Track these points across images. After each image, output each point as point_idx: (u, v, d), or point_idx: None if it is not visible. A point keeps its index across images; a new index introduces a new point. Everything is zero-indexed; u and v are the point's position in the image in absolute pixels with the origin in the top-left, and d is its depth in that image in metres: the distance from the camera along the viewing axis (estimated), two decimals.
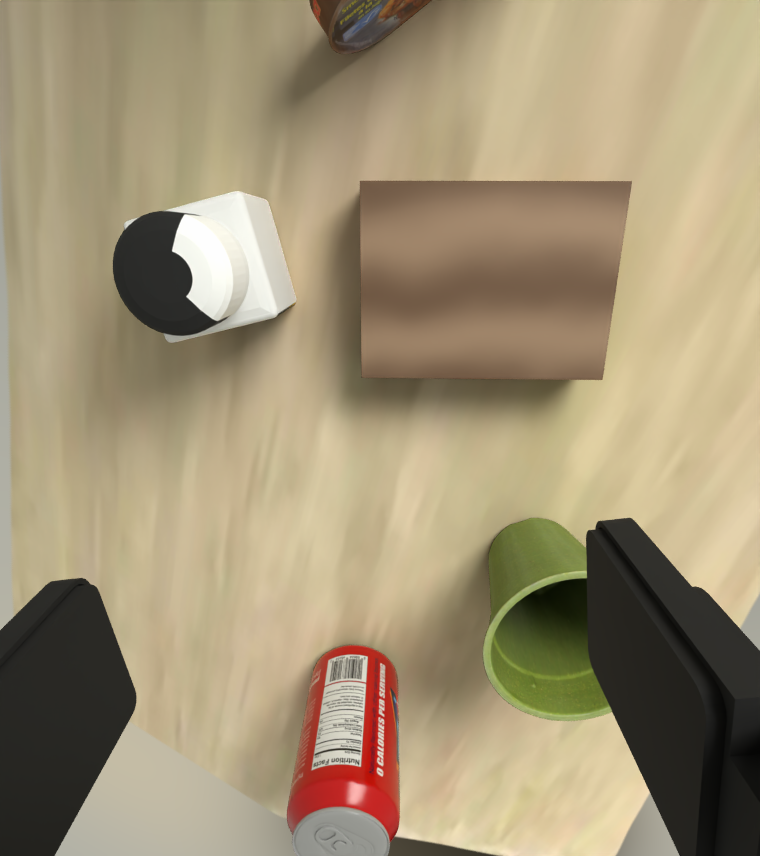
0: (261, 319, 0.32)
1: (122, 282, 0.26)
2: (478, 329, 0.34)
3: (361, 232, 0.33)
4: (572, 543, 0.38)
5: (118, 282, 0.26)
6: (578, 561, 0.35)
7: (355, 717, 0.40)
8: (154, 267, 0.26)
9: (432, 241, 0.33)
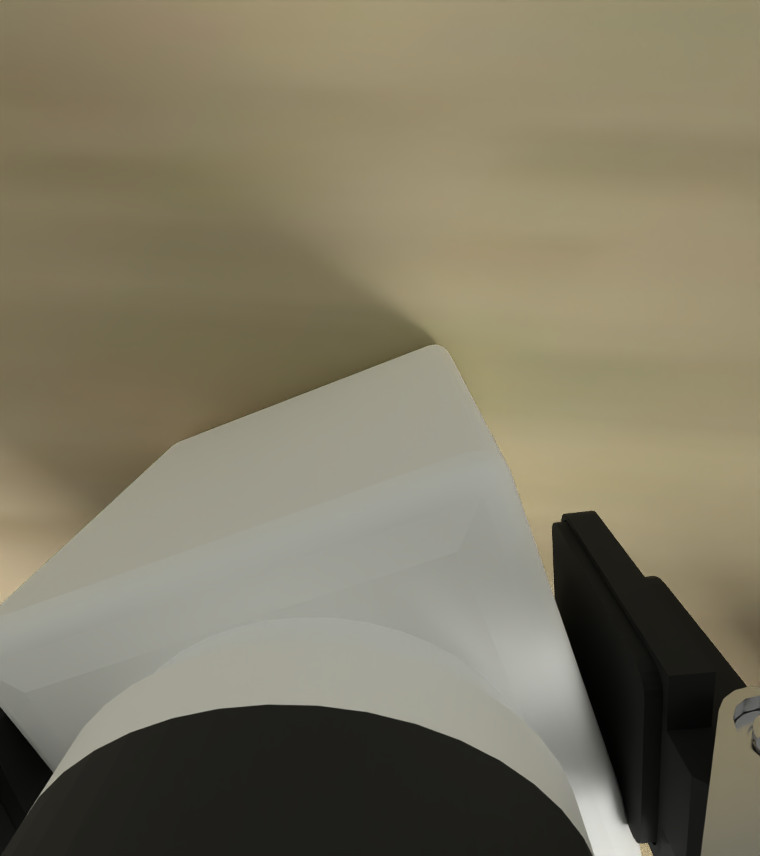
0: None
1: None
2: None
3: None
4: None
5: None
6: None
7: None
8: None
9: None
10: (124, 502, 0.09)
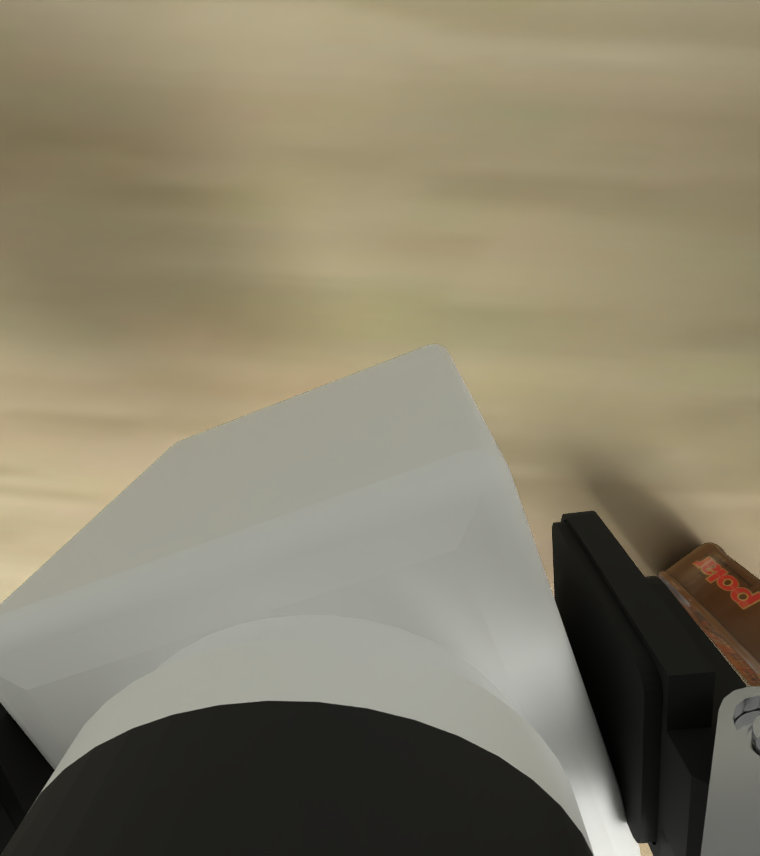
0: None
1: None
2: None
3: None
4: None
5: None
6: None
7: None
8: None
9: None
10: (125, 501, 0.09)
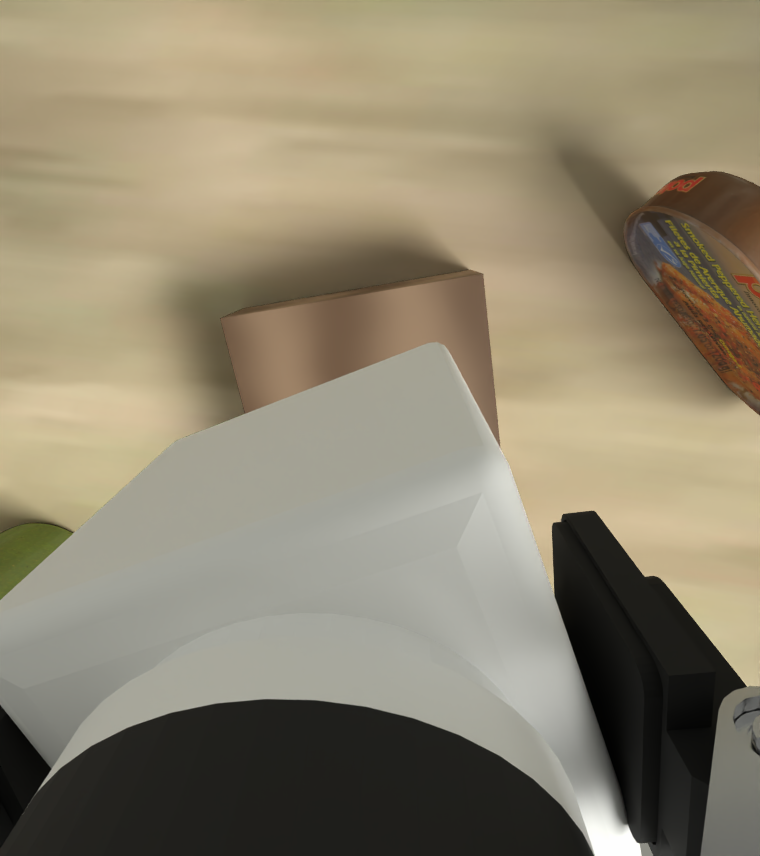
0: None
1: None
2: None
3: (418, 286, 0.24)
4: None
5: None
6: None
7: None
8: None
9: None
10: (123, 499, 0.09)
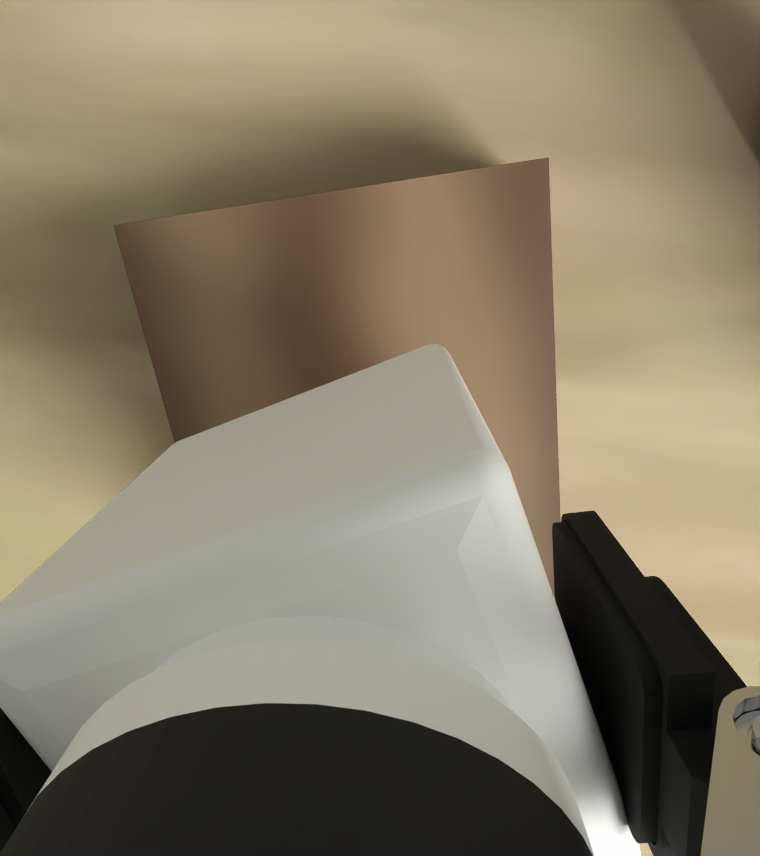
0: None
1: None
2: None
3: (439, 177, 0.14)
4: None
5: None
6: None
7: None
8: None
9: (437, 340, 0.16)
10: (123, 501, 0.09)
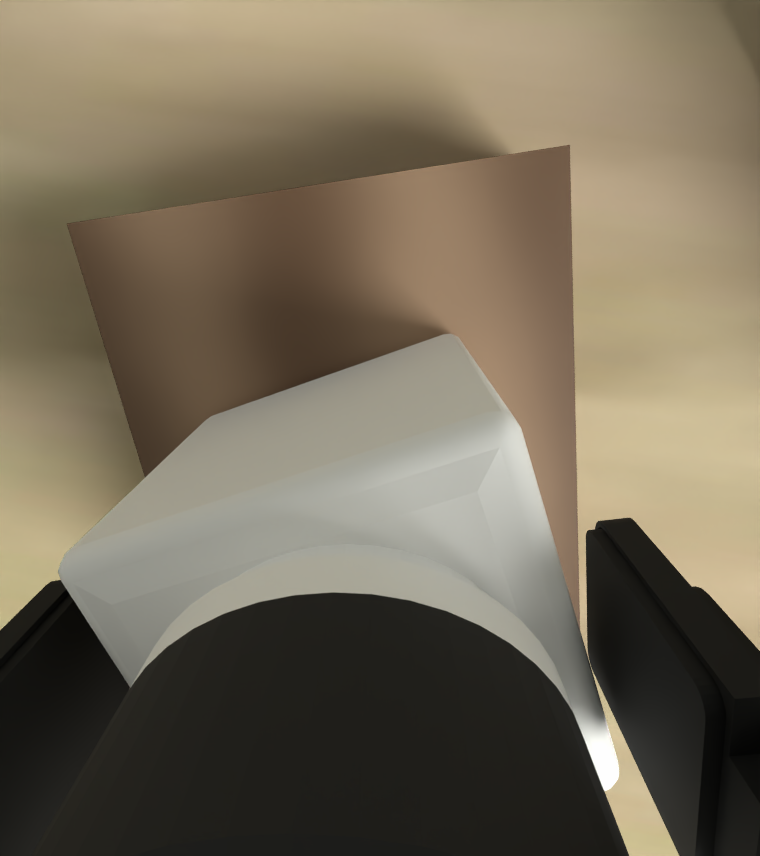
0: None
1: None
2: None
3: (443, 168, 0.12)
4: None
5: None
6: None
7: None
8: None
9: None
10: (175, 461, 0.11)
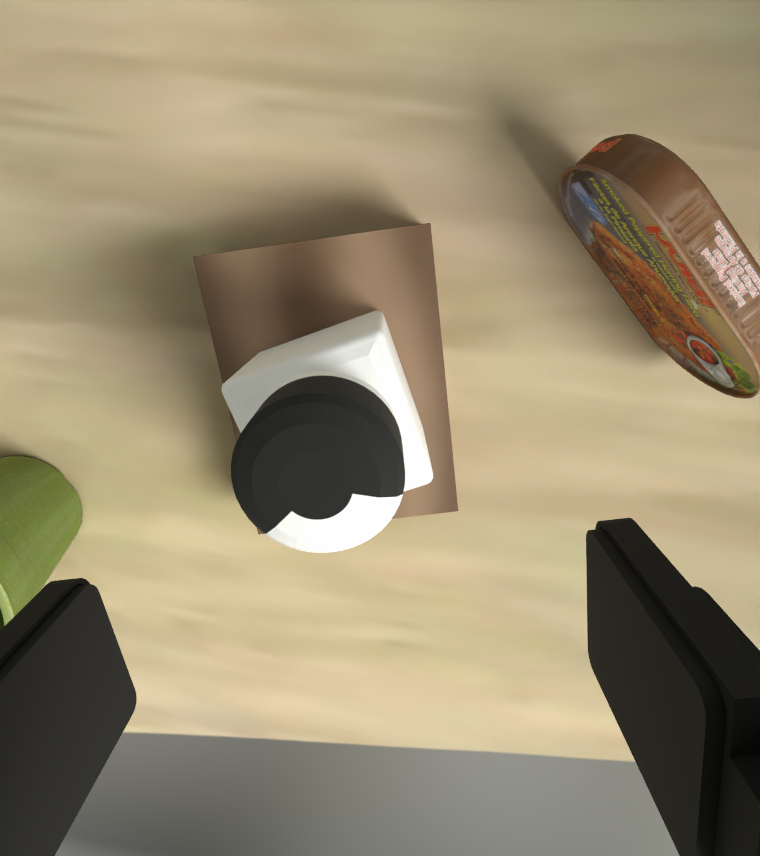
0: None
1: (297, 417, 0.17)
2: None
3: (372, 232, 0.26)
4: (53, 554, 0.31)
5: (295, 407, 0.17)
6: (23, 576, 0.27)
7: None
8: (326, 470, 0.18)
9: None
10: (252, 362, 0.25)
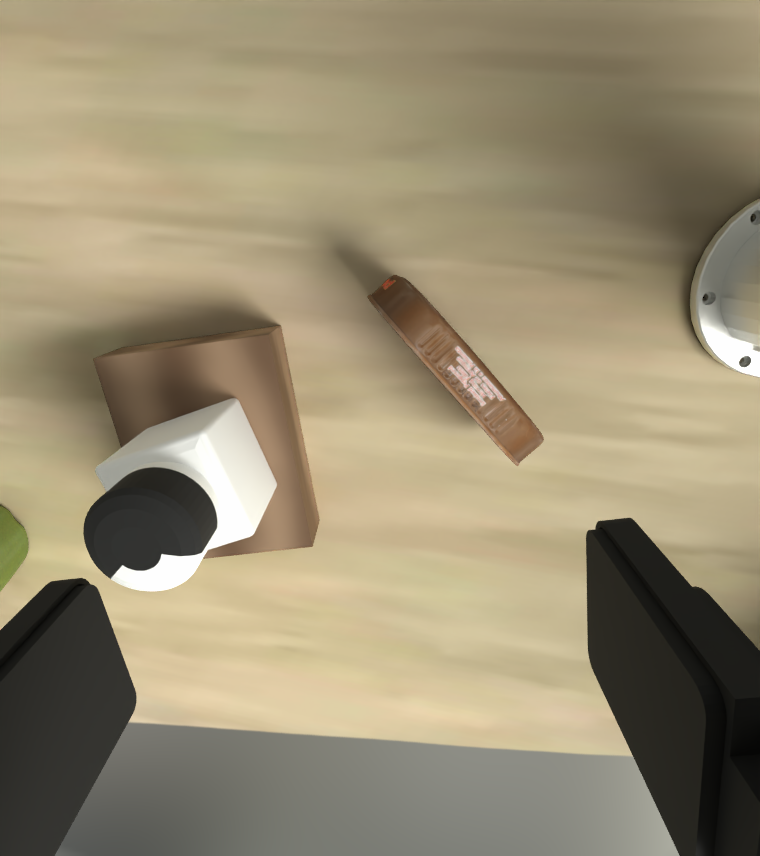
0: None
1: (120, 504, 0.26)
2: None
3: (226, 341, 0.35)
4: None
5: (119, 498, 0.26)
6: None
7: None
8: (141, 539, 0.26)
9: None
10: (129, 443, 0.33)
